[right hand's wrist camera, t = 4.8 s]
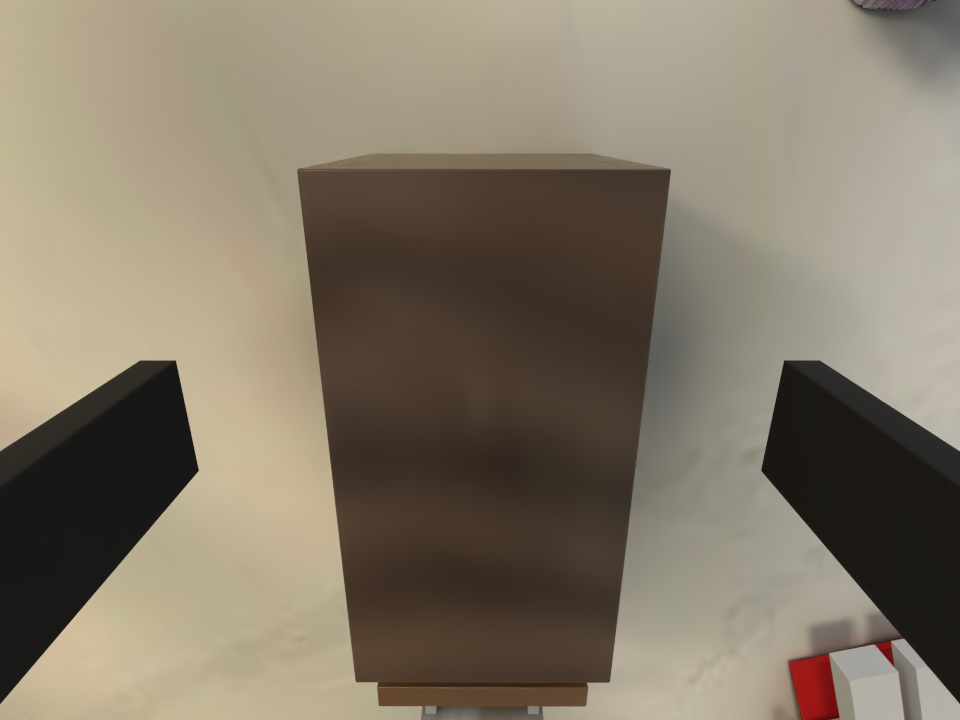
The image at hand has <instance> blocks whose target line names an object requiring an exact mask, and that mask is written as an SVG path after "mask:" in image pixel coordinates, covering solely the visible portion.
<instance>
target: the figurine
mask: <svg viewBox="0 0 960 720" xmlns="http://www.w3.org/2000/svg"><path fill="white" fill-rule="evenodd" d="M854 1H855V3H856V4H859V5H862V6H863V8H869V9H873V8H875V9H876V8H878V7H880V9H883V8H886V9H887V10H888V9H890V8H892V9H893V10H894V9H896V8H898V9H899V10H901V9H904V10H907V9H915V8H917V7H918V6H922V7H923V6H924V5H925V4H926V3H928V2H931V1H936V0H854Z"/></svg>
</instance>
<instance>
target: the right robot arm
mask: <svg viewBox="0 0 960 720" xmlns="http://www.w3.org/2000/svg"><path fill="white" fill-rule="evenodd" d="M198 471H199V469H198V465H197V460H196V455H195V450H194V446H193V441H192V436H191V431H190V426H189V422H188V417H187V412H186V407H185V402H184V398H183V393H182V388H181V383H180V378H179V374H178V369H177V364H176V361H139V362H137V363H136V364H134V365H133V366H131V367H130V368H128V369H127V370H125V371H123V372H122V373H120V374H119V375H117V376H116V377H114V378H113V379H111V380H110V381H108V382H107V383H105V384H103V385H102V386H100V387H99V388H97V389H96V390H94V391H93V392H91V393H90V394H88V395H86V396H85V397H83V398H82V399H80V400H79V401H77V402H76V403H74V404H73V405H71V406H70V407H68V408H66V409H65V410H63V411H62V412H60V413H59V414H57V415H56V416H54V417H53V418H51V419H50V420H48V421H46V422H45V423H43V424H42V425H40V426H39V427H37V428H36V429H34V430H33V431H31V432H29V433H28V434H26V435H25V436H23V437H22V438H20V439H19V440H17V441H16V442H14V443H13V444H11V445H9V446H8V447H6V448H5V449H3V450H2V451H0V704H1V702H2V701H3V700H4V699H5V698H6V697H7V695H8V694H9V693H10V692H11V691H12V690H13V688H14V687H15V686H16V685H17V684H18V683H19V681H20V680H21V679H22V678H23V677H24V675H25V674H26V673H27V672H28V671H29V670H30V668H31V667H32V666H33V665H34V664H35V663H36V661H37V660H38V659H39V658H40V657H41V655H42V654H43V653H44V652H45V651H46V650H47V648H48V647H49V646H50V645H51V644H52V643H53V641H54V640H55V639H56V638H57V637H58V636H59V634H60V633H61V632H62V631H63V630H64V628H65V627H66V626H67V625H68V624H69V623H70V621H71V620H72V619H73V618H74V617H75V616H76V614H77V613H78V612H79V611H80V610H81V608H82V607H83V606H84V605H85V604H86V603H87V601H88V600H89V599H90V598H91V597H92V596H93V594H94V593H95V592H96V591H97V590H98V589H99V587H100V586H101V585H102V584H103V583H104V581H105V580H106V579H107V578H108V577H109V576H110V574H111V573H112V572H113V571H114V570H115V569H116V567H117V566H118V565H119V564H120V563H121V561H122V560H123V559H124V558H125V557H126V556H127V554H128V553H129V552H130V551H131V550H132V549H133V547H134V546H135V545H136V544H137V543H138V542H139V540H140V539H141V538H142V537H143V536H144V534H145V533H146V532H147V531H148V530H149V529H150V527H151V526H152V525H153V524H154V523H155V522H156V520H157V519H158V518H159V517H160V516H161V514H162V513H163V512H164V511H165V510H166V509H167V507H168V506H169V505H170V504H171V503H172V502H173V500H174V499H175V498H176V497H177V496H178V495H179V493H180V492H181V491H182V490H183V489H184V487H185V486H186V485H187V484H188V483H189V482H190V480H191V479H192V478H193V477H194V476H195V475H196V473H197V472H198ZM761 471H762V472H763V473H764V475H765V476H766V477H767V478H768V479H769V480H770V482H771V483H772V484H773V485H774V486H775V487H776V489H777V490H778V491H779V492H780V493H781V495H782V496H783V497H784V498H785V499H786V500H787V502H788V503H789V504H790V505H791V506H792V507H793V509H794V510H795V511H796V512H797V513H798V514H799V516H800V517H801V518H802V519H803V520H804V522H805V523H806V524H807V525H808V526H809V527H810V529H811V530H812V531H813V532H814V533H815V534H816V536H817V537H818V538H819V539H820V540H821V542H822V543H823V544H824V545H825V546H826V547H827V549H828V550H829V551H830V552H831V553H832V554H833V556H834V557H835V558H836V559H837V560H838V561H839V563H840V564H841V565H842V566H843V567H844V569H845V570H846V571H847V572H848V573H849V574H850V576H851V577H852V578H853V579H854V580H855V581H856V583H857V584H858V585H859V586H860V587H861V589H862V590H863V591H864V592H865V593H866V594H867V596H868V597H869V598H870V599H871V600H872V601H873V603H874V604H875V605H876V606H877V607H878V608H879V610H880V611H881V612H882V613H883V614H884V616H885V617H886V618H887V619H888V620H889V621H890V623H891V624H892V625H893V626H894V627H895V628H896V630H897V631H898V632H899V633H900V634H901V636H902V637H903V638H904V639H905V640H906V641H907V643H908V644H909V645H910V646H911V647H912V648H913V650H914V651H915V652H916V653H917V654H918V655H919V657H920V658H921V659H922V660H923V661H924V663H925V664H926V665H927V666H928V667H929V668H930V670H931V671H932V672H933V673H934V674H935V675H936V677H937V678H938V679H939V680H940V681H941V683H942V684H943V685H944V686H945V687H946V688H947V690H948V691H949V692H950V693H951V694H952V695H953V697H954V698H955V699H956V700H957V701H958V702H959V704H960V451H958V450H957V449H955V448H954V447H952V446H951V445H949V444H947V443H946V442H944V441H943V440H941V439H940V438H938V437H937V436H935V435H934V434H932V433H931V432H929V431H927V430H926V429H924V428H923V427H921V426H920V425H918V424H917V423H915V422H914V421H912V420H910V419H909V418H907V417H906V416H904V415H903V414H901V413H900V412H898V411H897V410H895V409H894V408H892V407H890V406H889V405H887V404H886V403H884V402H883V401H881V400H880V399H878V398H877V397H875V396H874V395H872V394H870V393H869V392H867V391H866V390H864V389H863V388H861V387H860V386H858V385H857V384H855V383H853V382H852V381H850V380H849V379H847V378H846V377H844V376H843V375H841V374H840V373H838V372H837V371H835V370H833V369H832V368H830V367H829V366H827V365H826V364H824V363H823V362H821V361H784V364H783V369H782V374H781V378H780V383H779V388H778V393H777V398H776V402H775V407H774V412H773V417H772V422H771V426H770V431H769V436H768V441H767V446H766V450H765V455H764V460H763V465H762V469H761Z"/></svg>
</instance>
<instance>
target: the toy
mask: <svg viewBox="0 0 960 720" xmlns="http://www.w3.org/2000/svg"><path fill="white" fill-rule="evenodd" d="M789 666H790V670H791V675H792V679H793V683H794V688H795V692H796V696H797V701H798V705H799V710H800V714H801V718H802V720H960V704H959V702H958V701H957V700H956V699H955V698H954V697H953V695H952V694H951V693H950V692H949V691H948V690H947V688H946V687H945V686H944V685H943V684H942V683H941V681H940V680H939V679H938V678H937V677H936V675H935V674H934V673H933V672H932V671H931V670H930V668H929V667H928V666H927V665H926V664H925V663H924V661H923V660H922V659H921V658H920V657H919V655H918V654H917V653H916V652H915V651H914V650H913V648H912V647H911V646H910V645H909V644H908V643H907V641H906V640H905V639H904V638H901V639H897V640H892V641H887V642H883V643H878V644H873V645H869V646H864V647H858V648H853V649H848V650H843V651H838V652H833V653H829V654H827V655H823V656H818V657H813V658H809V659H804V660H799V661H795V662H790V663H789Z"/></svg>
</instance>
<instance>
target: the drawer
mask: <svg viewBox="0 0 960 720" xmlns="http://www.w3.org/2000/svg"><path fill="white" fill-rule="evenodd" d="M377 690H378V701H379V706H423V707H422V718H421V720H543V711H542V706H586V702H587V692H588V685H587V683H563V682H378V686H377Z"/></svg>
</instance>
